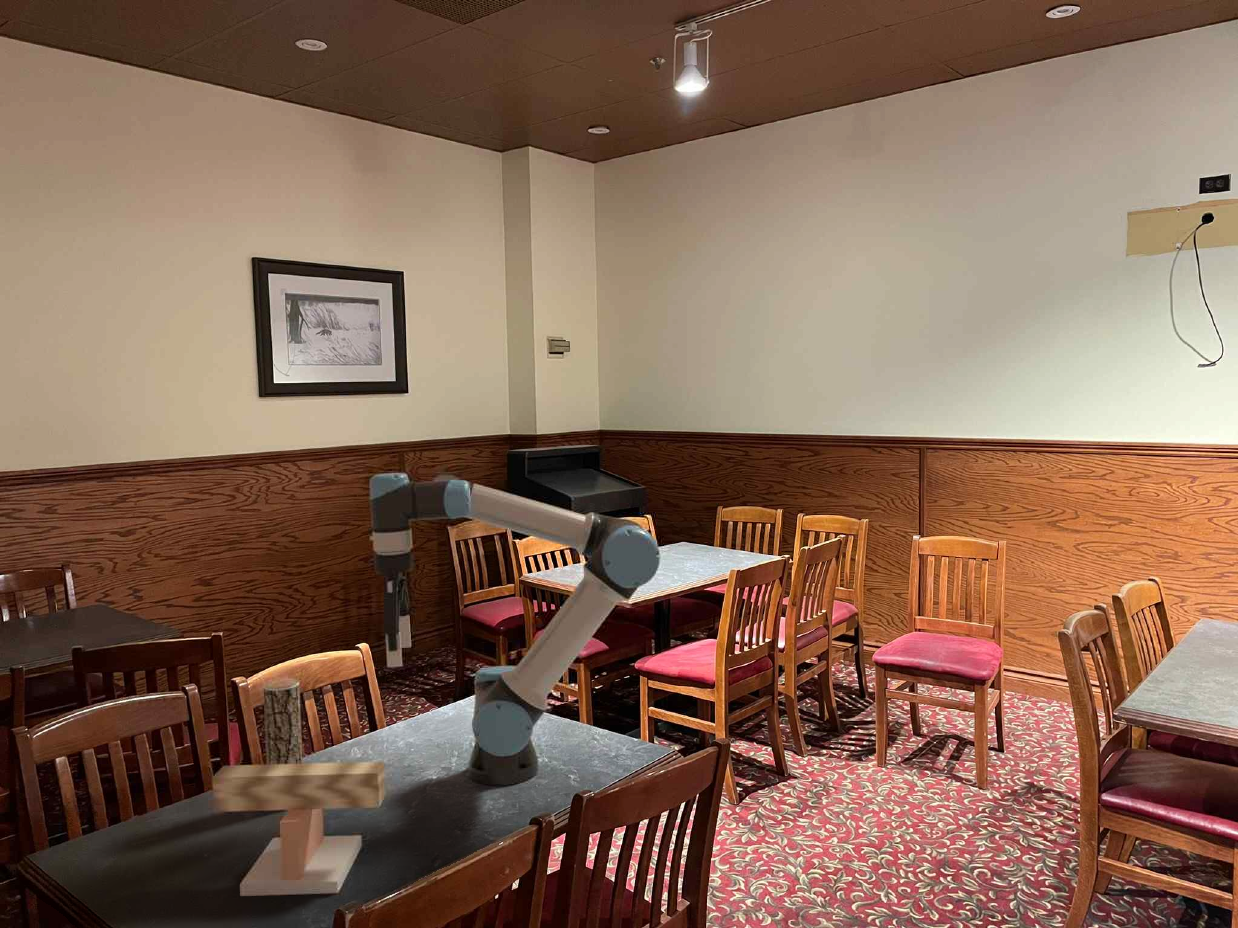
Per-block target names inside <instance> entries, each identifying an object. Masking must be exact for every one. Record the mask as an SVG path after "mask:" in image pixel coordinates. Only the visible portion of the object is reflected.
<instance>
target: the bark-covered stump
mask: <svg viewBox="0 0 1238 928" xmlns="http://www.w3.org/2000/svg"><path fill="white" fill-rule="evenodd" d="M300 694H301V693H300V680H299V679H298V678H297V677H296V678H295V677H279V678H273V679H270V680H267V681H266V682H264V683H263V706H264V707H263V711H264V732H265V733H264V736H265V756H266V757H265V758H266V765H273V764H303V744H302V742H303V741H302V722H301V721H302V720H301V718H302V716H301V715H302V714H301V695H300Z"/></svg>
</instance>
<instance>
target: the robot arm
mask: <svg viewBox="0 0 1238 928" xmlns="http://www.w3.org/2000/svg"><path fill="white" fill-rule="evenodd" d="M368 499H369V507H370V508H369V509H370V517H371V518H370V519H371V532H372V535H370V537H369V541H372V542H373V543H372V546H373V551H374V552H375V553H374V555H373V563H374V564H373V566H374V571H375V573H376V574H379V575H386V579H385V581H384V582H382V583H383V584H382V587H383V615H382V616H383V619H382V620H383V623H382V624H383V627H382V629H381V630H380V634H381V636H385V649H386V651H385V652H386V663H387V664H386V665H387V668H397V667H398V668H399V667H403V657H402V656H403V655H402V654H403V653H402V649H403V648H404V649H405V648H411V647H412V639H411V638H412V637H411V623H410V615H413V613H414V611H413V608H411V603H410V597H409V591H408V586H407V585H408V582H407V576H406V575H407V574H406V573H407V572H410V571H412V570H413V569H414V554H413V552H412V550H411V549H412V548H413V535H412V534H413V533H412V525H411V524H412V523H411V521H421V520H422V521H423V520H424V521H425V520H441V519H442V520H445V519H451V520H455V519H459V518H468V519H470V520H473V521H474V520H475V521H477V522H481V523H484V524H488V525H491V526H495V527H497V528H502V529H506V530H509V531H512V532H516V533H519V534H522V535H526V536H529V537H533V538H536V539H541V540H543V541H547V542H551V543H554V544H558V545H561V546H562V545H563V546H565V547H568V548H572V549H575V550H576V551H577V553H578V555H579V556H583V557H586V558H588V559H587V561H586V562H584V564H583V574H584V575H583V578H582V579H581V580H580V582H579V583H578V584H577V585H576V587H575V589H573V591H572V593H571V594H570V595H569V597H567V599H566V600H565V601H564V603H563V605H561V607H560V608H559V610H558V611H557V612H556V614H555V615H554V616H553V618H552V619H551V620H550V622H549V623H548V624H547V626H546V627H545V628H544V630H543V631H542V632H541V634H540V635H539V636H538V638H537V639H536V640H535V641H534V643H533V644H532V645H531V647H530V648H529V650H528V651H527V652H526V654H525V655H523V657H522V659H520V661H519V663H518V664H517V665H499V666H498V665H497V666H488V667H484V668H481V669H478V670H477V671H476V672H475V675H474V681H473V684H474V707H473V718H472V721H471V727H472V732H473V736H474V739H475V741H474V745H473V748H472V752H471V754H470V757H469V761H468V775H469V777H470V778H471V780H474V781H475V782H477V783H480V784H483V785H489V786H505V785H514V784H519V783H522V782H526V781H527V780H530V779H531V778H533V777H534V776H536V774H538V771H539V759H538V756H537V752H536V749H535V746H534V744H533V741H532V735H533V732H534V727H535V725H536V724H537V723H538V721H539V720H540V719H541V717H542V716H543V714H544V713H545V712H546V711H547V709H548V706H549V705H548V695H549V694H550V692H551V691H553V689H554V687H555V686H556V685H557V684H558V682H559V681H560V679H561V678H562V677H563V675H564V674H565V673H566V671H567V670H568V669H569V668H570V666H571V665H572V663H573V662H574V661H575V660H576V659H577V657H578V656H579V654H580V653H581V651H582V650H583V649H584V647H585V646H586V644H588V643H589V641H590V639H591V638H592V637H593V636H594V634H595V633H596V632H597V630H598V629H599V628H600V627H601V625H602V623H603V622H604V621H605V620H606V618H607V617H608V616H609V614H611V612H612V610H613V609H614V608H615V607H616V605H617V604H618V603H622V602H627V601H629V600H630V599H631V598H632V596H633V595H634V594H635V592H636V591H637V590H638V589H639V587H642V586H643V585H645V584H647V583H648V582H650V581H651V580H652V579H653V578H654V577H655V575H656V573H657V571H658V570H659V566H660V562H661V560H660V559H661V554H660V549H659V546H658V543H657V541H656V539H655V538H654V536H653V535H652V534H651V533H650V532H649V531H648V530H647V529H645V528H643V526H642V525H640V524H639V523H637V522H636V521H633V520H631V519H626V518H620V517H614V516H610V515H609V516H608V515H603V514H600V513H597V512H591V511H590V512H588V513H587V514H582V513H579V512H576V511H572V510H570V509H565V508H561V507H559V506H555V505H551V504H548V503H544V502H540V501H537V500H533V499H530V498H526V497H523V496H519V495H516V494H513V493H509V492H505V491H502V490H499V489H496V488H491V487H488V486H484V485H481V484H478V483H473V482H470V481H467V480H465V479H461V478H458V477H457V476H455V475H452V474H446V473H445V474H440V475H438V476H436V477H434V478H433V479H432V480H431V481H422V482H412V481H410V480H409V477H408V474H407V473H405V472H389V473H379V474H374V475H373V476H371V478H370V480H369V498H368Z"/></svg>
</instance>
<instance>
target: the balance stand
mask: <svg viewBox="0 0 1238 928" xmlns="http://www.w3.org/2000/svg"><path fill="white" fill-rule="evenodd" d="M323 811H324V809H298V810H286V813H285V815H283V817H282V819H281V820H280V821H279V828H280V829H279V830H280V831H279V833H280V837H273V838H272V839H271V840H270V842H269V843H268V844H267V846H266V847H265V849H264V850H263V852H262V853H261V854H260V855H259V857H258V858H257V860H256V861H255V863H254V864H253V866H252V867H251V868H250V870H249V871H248V873H247V874H246V875H245V877H244V878H243V879H242V880H241V882H240V884H239V892H240V893H239V896H240V897H252V896H253V897H254V896H284V895H286V896H287V895H316V894H317V895H320V894H338V893H340V889H341V888H342V886H343V884H344V883H345V879H347V876H348V874H349V872H350V870H351V868H352V866H353V864H354V863H355V861H356V859H357V856H358V854H359V852H360V850H361V848H362V847H363V841H362V840H363V838H362V835H359V834H357V835H330V836H329V835H326V836H325V835H324V816H323V815H324V814H323V813H324V812H323Z"/></svg>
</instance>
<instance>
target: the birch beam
mask: <svg viewBox="0 0 1238 928" xmlns="http://www.w3.org/2000/svg"><path fill="white" fill-rule="evenodd" d="M211 781H212V803H213V804H212V805H213V807H212V808H213V813H220V812H222V813H223V812H254V811H255V812H257V811H261V812H262V811H288V810H298V809H323V810H326V809H327V810H328V809H329V810H331V809H333V810H334V809H362V808H363V809H364V808H367V809H368V808H380V807H381V805H382V803H383V800H384V799H385V797H386V795H387V793H386V764H385V761H357V762H353V761H352V762H318V763H315V762H313V763H302V764H273V765H267V764H245V765H244V764H243V765H242V764H241V765H240V764H239V765H236V764H235V765H223V766H222V767H221V768H220V769H219V770H218V771H217V772H216V773H215V774H214V775H213V776H212V777H211Z"/></svg>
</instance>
